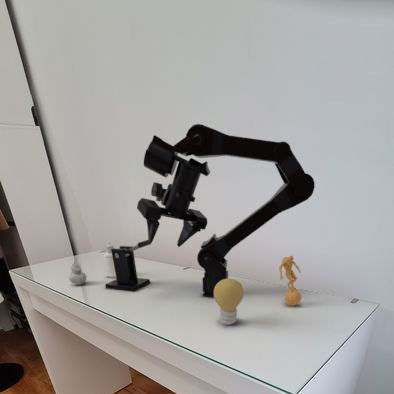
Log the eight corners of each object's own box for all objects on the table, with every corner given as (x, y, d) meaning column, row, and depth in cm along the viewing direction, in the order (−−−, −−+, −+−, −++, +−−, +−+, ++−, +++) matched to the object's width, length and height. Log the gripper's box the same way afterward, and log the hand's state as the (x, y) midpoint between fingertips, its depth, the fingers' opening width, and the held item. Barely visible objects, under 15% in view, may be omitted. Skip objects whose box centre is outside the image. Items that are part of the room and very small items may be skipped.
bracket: (150, 282, 94) (145, 245, 88) (134, 291, 87) (128, 251, 81) (122, 280, 98) (116, 244, 92) (105, 288, 91) (97, 249, 85)
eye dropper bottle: (114, 279, 99) (107, 243, 93) (105, 276, 103) (98, 241, 97) (124, 276, 102) (118, 241, 96) (116, 274, 106) (109, 239, 99)
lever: (152, 245, 85) (149, 237, 84) (143, 248, 81) (139, 240, 80) (126, 257, 91) (123, 249, 90) (116, 260, 87) (112, 253, 86)
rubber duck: (75, 287, 93) (69, 262, 89) (67, 284, 97) (60, 260, 93) (91, 283, 96) (85, 259, 92) (82, 280, 100) (76, 257, 96)
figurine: (289, 311, 69) (296, 260, 63) (269, 305, 73) (273, 257, 66) (307, 302, 73) (315, 254, 67) (287, 297, 77) (292, 251, 71)
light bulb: (224, 314, 69) (224, 273, 64) (247, 321, 65) (249, 277, 60) (208, 324, 64) (207, 280, 59) (232, 331, 61) (233, 285, 56)
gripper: (198, 181, 79) (179, 233, 89) (136, 162, 68) (123, 224, 78) (218, 200, 74) (196, 253, 84) (155, 183, 63) (137, 247, 73)
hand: (164, 244), depth 80 cm, fingers open, 9 cm apart
